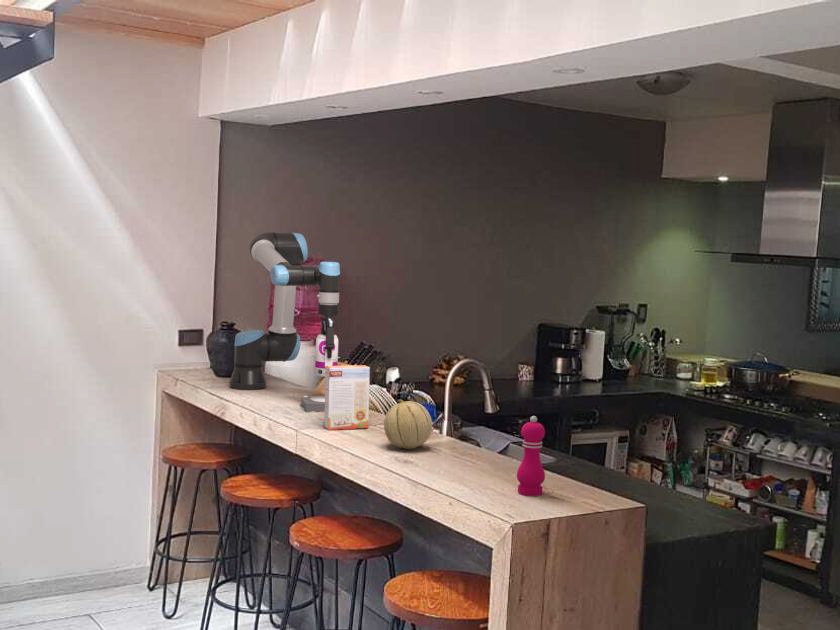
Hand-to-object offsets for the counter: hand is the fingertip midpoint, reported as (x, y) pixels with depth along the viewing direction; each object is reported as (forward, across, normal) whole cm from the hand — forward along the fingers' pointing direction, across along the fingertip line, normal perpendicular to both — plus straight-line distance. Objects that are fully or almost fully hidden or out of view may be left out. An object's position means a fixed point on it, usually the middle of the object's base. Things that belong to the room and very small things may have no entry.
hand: (326, 365), depth 357 cm
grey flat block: (+16, 0, 0) cm, 16 cm away
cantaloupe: (+16, +69, +14) cm, 72 cm away
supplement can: (+4, 0, 0) cm, 4 cm away
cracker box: (+16, +37, +1) cm, 40 cm away
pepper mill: (+17, +123, +33) cm, 128 cm away
